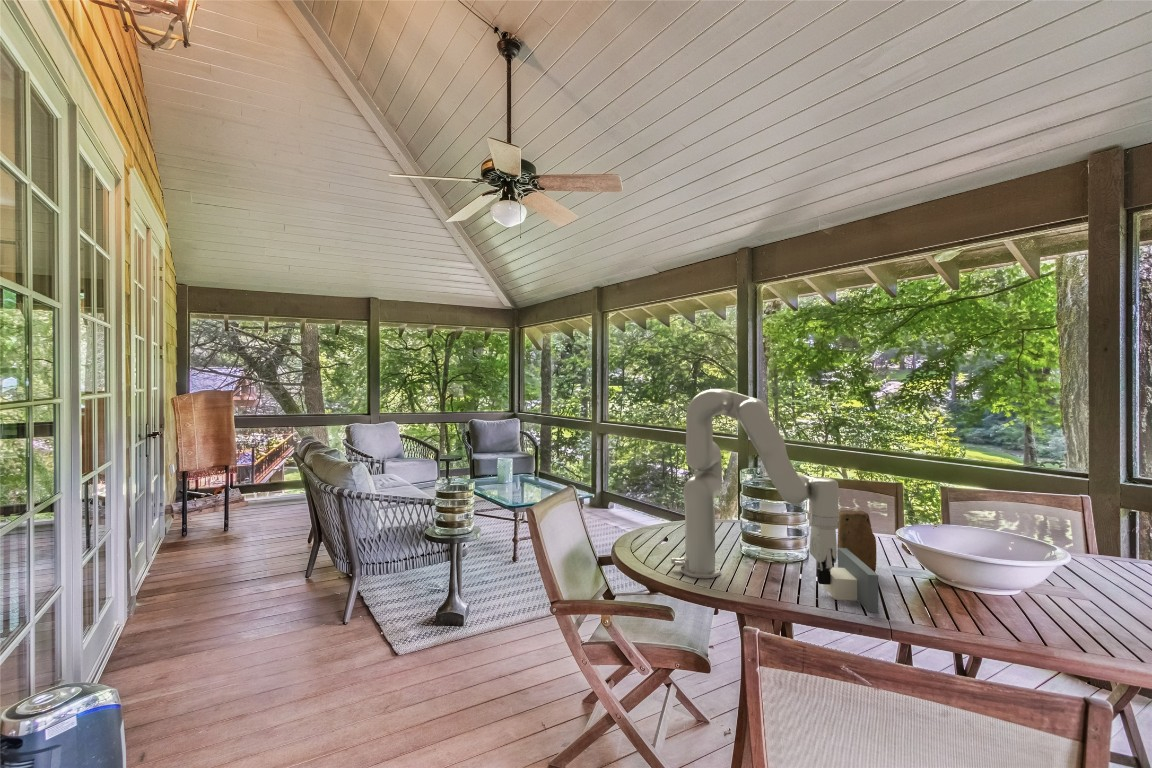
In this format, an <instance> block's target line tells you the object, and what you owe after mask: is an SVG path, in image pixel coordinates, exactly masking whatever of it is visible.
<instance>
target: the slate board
mask: <svg viewBox="0 0 1152 768" xmlns="http://www.w3.org/2000/svg"><path fill="white" fill-rule="evenodd" d="M837 550H838V557H837V568H845V569H846V570H847V571H848V572H849V573H850V574H852V575H853V576H854V577H855V578H856V579H857V602H858V603H859V604H860V605H861V606H862V607H863V608H864V609H865V611H867V612H868V613H876V614H877V613H879V574H878V573H876V571H875V572H874V571H873V570H872V569H870V568H869V567H868V566H867V565H866V564H864V563H863V562H862V561H861V560H860V559H859V558H857V557H856V556H855V555H854V554H853V553H851V552H850V551H849V550H848V549H847V548H838V549H837Z"/></svg>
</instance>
